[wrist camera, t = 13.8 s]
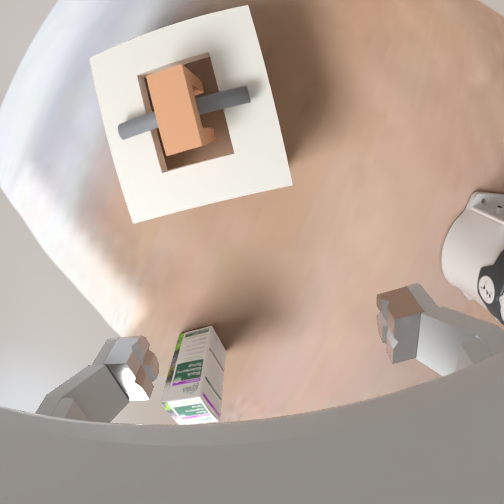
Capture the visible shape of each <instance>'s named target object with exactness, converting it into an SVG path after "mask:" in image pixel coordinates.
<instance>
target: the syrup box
mask: <svg viewBox="0 0 504 504" xmlns="http://www.w3.org/2000/svg"><path fill="white" fill-rule="evenodd" d="M225 359H226V350H225V348H224V347H223V345H222V343H221V341H220V339H219V337H218V335H217V334H216V332H215V330H214V328H213V326H208V327H205V328H200V329H197V330H193V331H189V332H185V333H182V334H180V335H179V338H178V342H177V345H176V348H175V352H174V356H173V359H172V362H171V366H170V369H169V373H168V376H167V380H166V384H165V387H164V391H163V395H162V398H161V404H162V405H163V407H164V408H165V409H166V410H167V412H168V413H169V414H170V416H171V417H172V418H173V419H174V420H175V421H176V422H177V423H178V424H179V425H183V424H204V423H209V422H217V421H220V417H221V405H222V392H223V381H224V370H225Z"/></svg>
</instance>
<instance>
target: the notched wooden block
mask: <svg viewBox="0 0 504 504" xmlns="http://www.w3.org/2000/svg"><path fill="white" fill-rule="evenodd" d="M146 78H147V82H148V87H149V91H150V95H151V99H152V103H153V107H154V111H155V115H156V119H157V123H158V127H159V131H160V135H161V139H162V142H163V146H164V150H165V153H166V156H169V155H173V154H176V153H179V152H183V151H186V150H190V149H193V148H197V147H201V146H204V145H206V144H209V143H212V142H214V141H216V137H215V133H214V129H213V128H203V127H202V123H201V119H200V115H199V111H198V107H197V103H196V99H195V95H199V94H202V93H204V90H203V86H202V82H201V80H200V79H199V78H198V77H197V76H196V75H194V74H193V73H192V72H191V71H190V70H188V69H187V68H186V67H185V66H183V65H182V64H180V65H177V66H174V67H170V68H167V69H164V70H162V71H159V72H156V73H153V74H150V75H147V76H146Z"/></svg>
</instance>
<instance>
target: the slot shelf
mask: <svg viewBox="0 0 504 504" xmlns="http://www.w3.org/2000/svg"><path fill="white" fill-rule="evenodd" d="M208 57H210V58H211V62H212V66H213V70H214V74H215V78H216V82H217V86H218V90H219V92H217V93H213V94H209V95H206V96H202V97H198V98H195V99H196V103H197V107H198V111H199V115H202V114H206V113H210V112H213V111H217V110H221V109H223V110H224V114H225V118H226V122H227V126H228V130H229V134H230V138H231V142H232V146H233V150H234V153H230V154H226V155H222V156H218V157H214V158H210V159H206V160H202V161H198V162H195V163H191V164H187V165H184V166H180V167H177V168H173V169H170V170H167V166H166V163H165V159H164V156H163V152H162V148H161V144H160V141H159V137H158V133H157V129H156V128H159V127H158V123H157V119H156V115H155V111H154V112H152V110H151V106H150V102H149V98H148V93H147V89H146V85H145V81H144V78H145V77H146V76H147V75H150V74H153V73H156V72H159V71H162V70H164V69H167V68H170V67H174V66H177V65H180V64H182V65H184V64H187V63H190V62H194V61H197V60H201V59H204V58H208ZM90 63H91V68H92V73H93V78H94V83H95V88H96V93H97V97H98V102H99V106H100V110H101V115H102V119H103V123H104V127H105V131H106V135H107V139H108V142H109V146H110V150H111V154H112V157H113V161H114V164H115V168H116V171H117V175H118V178H119V181H120V185H121V188H122V191H123V194H124V197H125V201H126V204H127V207H128V210H129V213H130V216H131V219H132V222H133V224H134V223H138V222H141V221H145V220H149V219H152V218H156V217H160V216H164V215H167V214H171V213H175V212H179V211H183V210H187V209H191V208H195V207H199V206H203V205H207V204H211V203H215V202H219V201H223V200H228V199H232V198H236V197H240V196H245V195H249V194H254V193H258V192H263V191H267V190H272V189H277V188H281V187H286V186H291V185H292V180H291V175H290V170H289V166H288V161H287V156H286V152H285V147H284V143H283V138H282V134H281V129H280V125H279V121H278V116H277V112H276V108H275V104H274V100H273V96H272V92H271V88H270V84H269V80H268V76H267V72H266V68H265V64H264V60H263V56H262V53H261V49H260V45H259V42H258V38H257V34H256V31H255V27H254V24H253V20H252V17H251V13H250V10H249V6H248V5H246V6H241V7H236V8H231V9H227V10H222V11H218V12H214V13H210V14H206V15H202V16H199V17H195V18H192V19H188V20H185V21H182V22H178V23H175V24H172V25H169V26H166V27H163V28H160V29H157V30H155V31H152V32H149V33H146V34H144V35H141V36H139V37H136V38H134V39H131V40H129V41H126V42H124V43H122V44H119V45H117V46H115V47H112V48H110V49H108V50H106V51H104V52H101V53H99V54H97V55H95V56H93V57H91V58H90Z"/></svg>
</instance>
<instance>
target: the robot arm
mask: <svg viewBox="0 0 504 504" xmlns="http://www.w3.org/2000/svg"><path fill="white" fill-rule="evenodd" d="M482 199H483V201H482ZM442 269H443V273H444V276H445V278H446V279H447V281H448V282H449V283H450V284H452V285H453V286H455V287H457V288H459V289H460V290H462V292H463V294H464V295H465V297H467V298H468V299H470V300H472V299H474V300H475V301H477V302H478V303H479V304H480V305H482V306H483V307H484V308H486V309H487V310H488V311H489V312H490V313H491V314H492V315H493V316H494V317H495V319H496V320H497V321H499V322H501V323H502V324H503V325H504V194H498V193H488V192H474V193H473V194H472V196H471V197H470V199H469V202H468V204H467V206H466V209H465V210H464V211H463V213H462V214H461V215H460V216H459V217H458V218H457V219H456V221H455V222H454V223H453V225H452V226H451V228H450V230H449V232H448V234H447V236H446V239H445V242H444V245H443V250H442ZM377 307H378V309H379V310H380V312H379V314H378V315H377V325H378V331H379V335H380V338H381V340H382V342H383V343H385V344H387V348H386V351H387V353H388V355H389V357H390V360H391V362H392V364H394V363H398V362H402V361H406V360H410V359H413V358H416V359H417V360H419V361H420V362H422V363H423V364H425V365H427V366H428V367H430V368H431V369H433V370H434V371H436V372H437V373H439V374H440V375H442V376H443V377H440V378H437V379H434V380H431V381H428V382H425V383H422V384H419V385H416V386H413V387H410V388H407V389H404V390H400V391H397V392H394V393H390V394H387V395H383V396H379V397H376V398H372V399H368V400H364V401H360V402H355V403H351V404H347V405H342V406H337V407H332V408H327V409H322V410H317V411H312V412H306V413H300V414H293V415H287V416H280V417H273V418H265V419H256V420H247V421H236V422H224V423H209V424H183V425H145V424H119V423H110V422H111V421H112V420H113V419H114V418H115V417H116V415H117V414H118V413H119V412H120V411H121V410H122V409H123V408H124V407H125V406H126V405H127V404H128V403H129V400H149V399H150V396H151V393H152V390H153V387H154V386H153V384H152V382H153V381H154V380H155V379H156V378H157V376H158V373H159V363H158V360H157V358H156V356H155V354H154V353H153V352H151V351H150V350H149V346H150V344H149V342H148V341H147V339H146V337H144V336H133V337H121V338H111V339H108V340H107V341H106V342H105V344H104V346H103V347H102V349H101V351H100V352H99V354H98V356H97V357H96V359H95V360H94V362H93V364H92V365H88V366H87V367H86V368H84V369H83V370H81V371H80V372H78V373H77V374H76V375H74V376H73V377H71V378H70V379H69V380H67V381H66V382H65V383H63V384H61V385H60V386H59V387H57V388H56V389H54V390H53V391H52V392H50V393H49V394H47V395H46V397H45V398H44V400H43V402H42V403H41V405H40V406H39V408H38V410H37V411H36V413H29V412H24V411H19V410H15V409H10V408H5V407H1V406H0V504H504V331H503V330H502V329H501V328H500V327H499V326H497V325H494V324H491V323H489V322H486V321H483V320H480V319H477V318H475V317H472V316H469V315H466V314H463V313H460V312H457V311H455V310H452V309H449V308H446V307H443V306H442V307H438V305H437V304H436V303H435V302H434V300H433V299H432V298H431V297H430V296H429V294H428V293H427V292H426V291H425V290H424V288H423V287H422V286H421V285H420V284H419V283H416V284H412V285H409V286H406V287H403V288H399V289H396V290H392V291H388V292H384V293H381V294H377Z"/></svg>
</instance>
